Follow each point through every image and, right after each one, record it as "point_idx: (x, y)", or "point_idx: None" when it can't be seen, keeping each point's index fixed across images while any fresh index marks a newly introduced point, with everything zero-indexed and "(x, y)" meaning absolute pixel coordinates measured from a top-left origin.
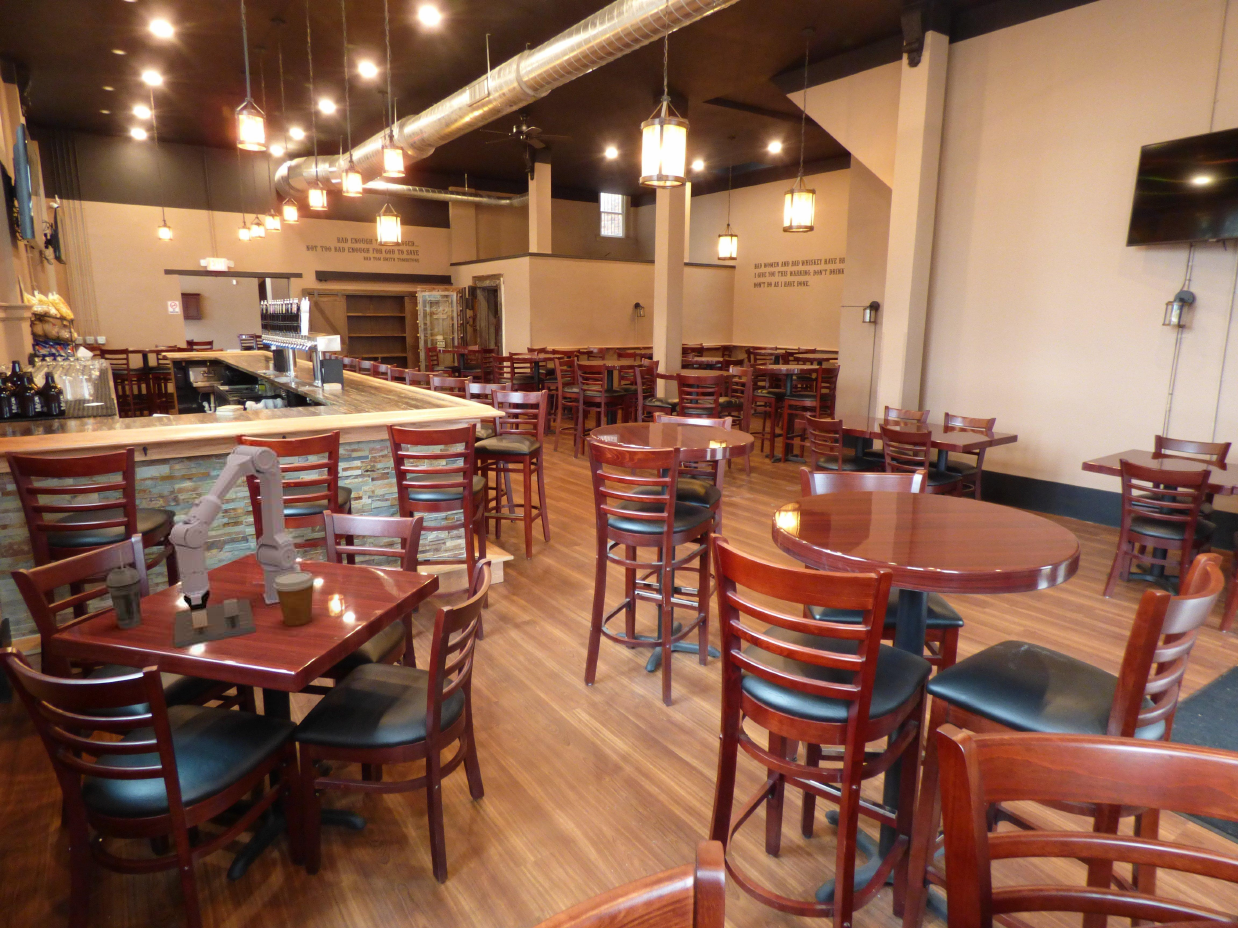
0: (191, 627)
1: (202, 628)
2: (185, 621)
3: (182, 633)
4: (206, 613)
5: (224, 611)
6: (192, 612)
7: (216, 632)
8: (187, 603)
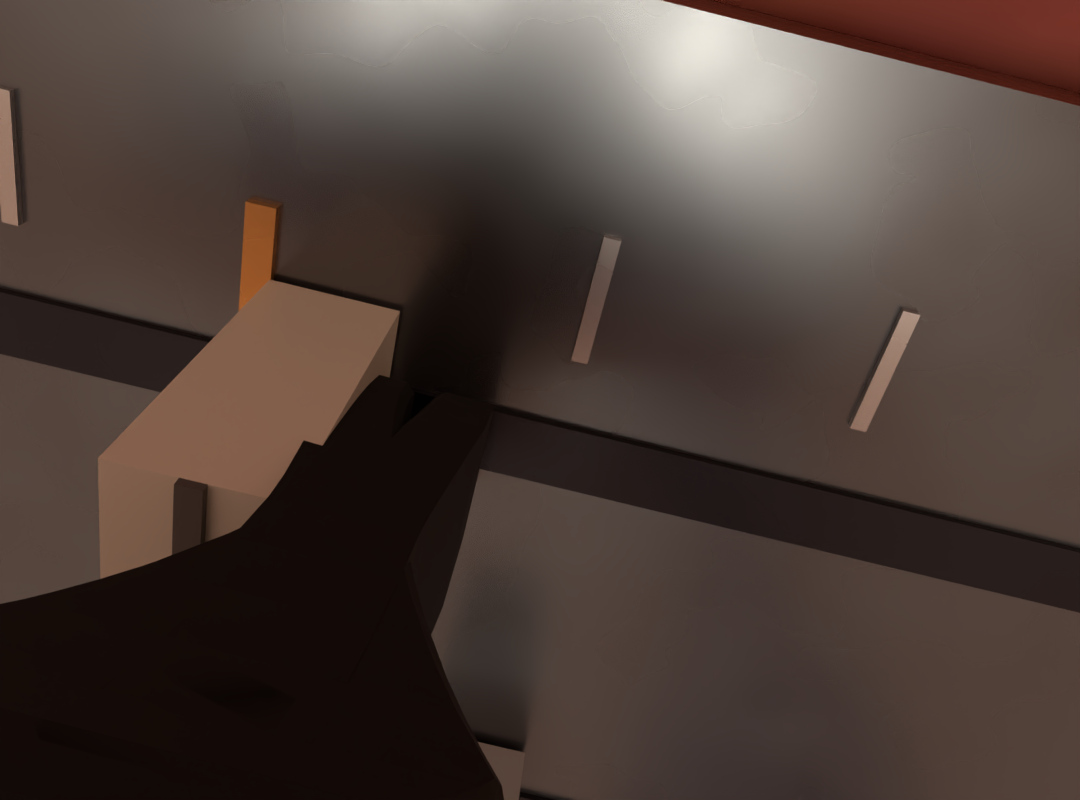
0: (342, 255)
1: (143, 380)
2: (793, 257)
3: (110, 30)
4: (884, 620)
5: (720, 791)
6: (106, 475)
7: None
8: (16, 610)
